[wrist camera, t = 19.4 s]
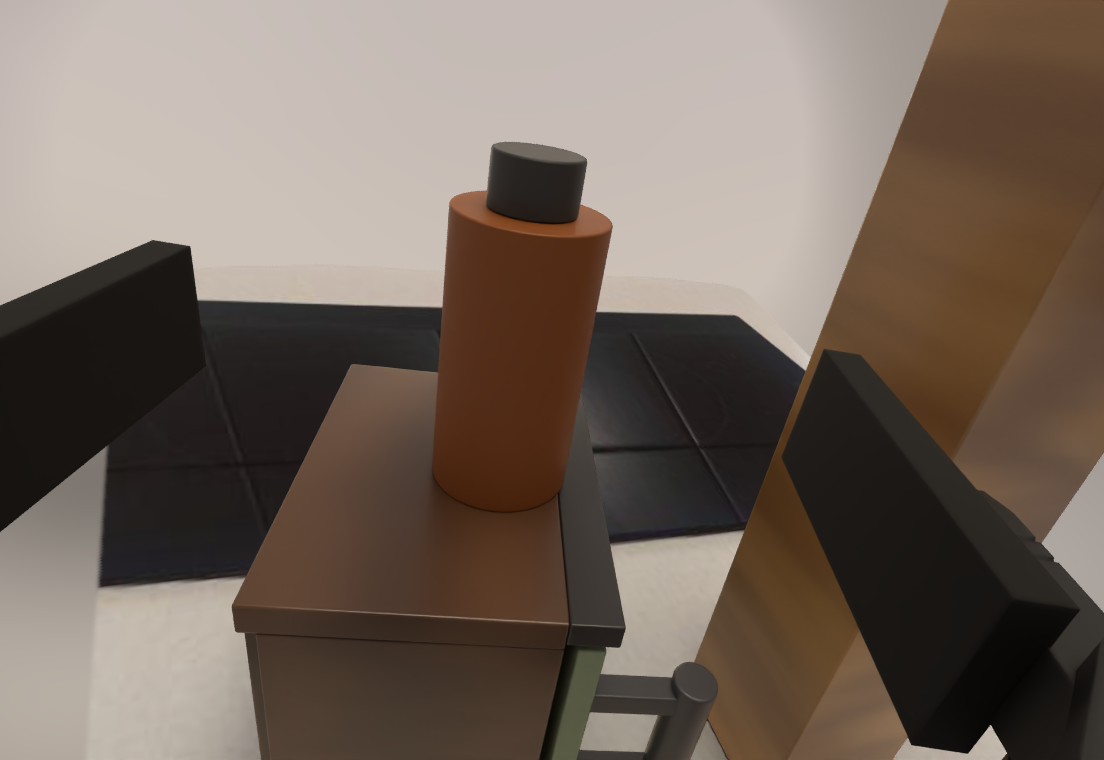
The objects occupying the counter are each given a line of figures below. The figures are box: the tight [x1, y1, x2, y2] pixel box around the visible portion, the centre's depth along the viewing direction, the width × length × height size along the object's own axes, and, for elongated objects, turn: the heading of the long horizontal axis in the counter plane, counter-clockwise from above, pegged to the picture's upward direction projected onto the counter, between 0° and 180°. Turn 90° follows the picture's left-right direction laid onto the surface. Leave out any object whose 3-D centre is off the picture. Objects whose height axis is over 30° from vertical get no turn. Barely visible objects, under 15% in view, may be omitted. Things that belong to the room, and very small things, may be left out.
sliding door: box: [539, 644, 718, 760], centre depth 22 cm, size 5×6×10 cm
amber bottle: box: [432, 142, 613, 512], centre depth 19 cm, size 5×5×11 cm
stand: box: [694, 0, 1104, 760], centre depth 20 cm, size 6×6×35 cm
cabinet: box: [232, 364, 626, 760], centre depth 24 cm, size 10×13×12 cm
